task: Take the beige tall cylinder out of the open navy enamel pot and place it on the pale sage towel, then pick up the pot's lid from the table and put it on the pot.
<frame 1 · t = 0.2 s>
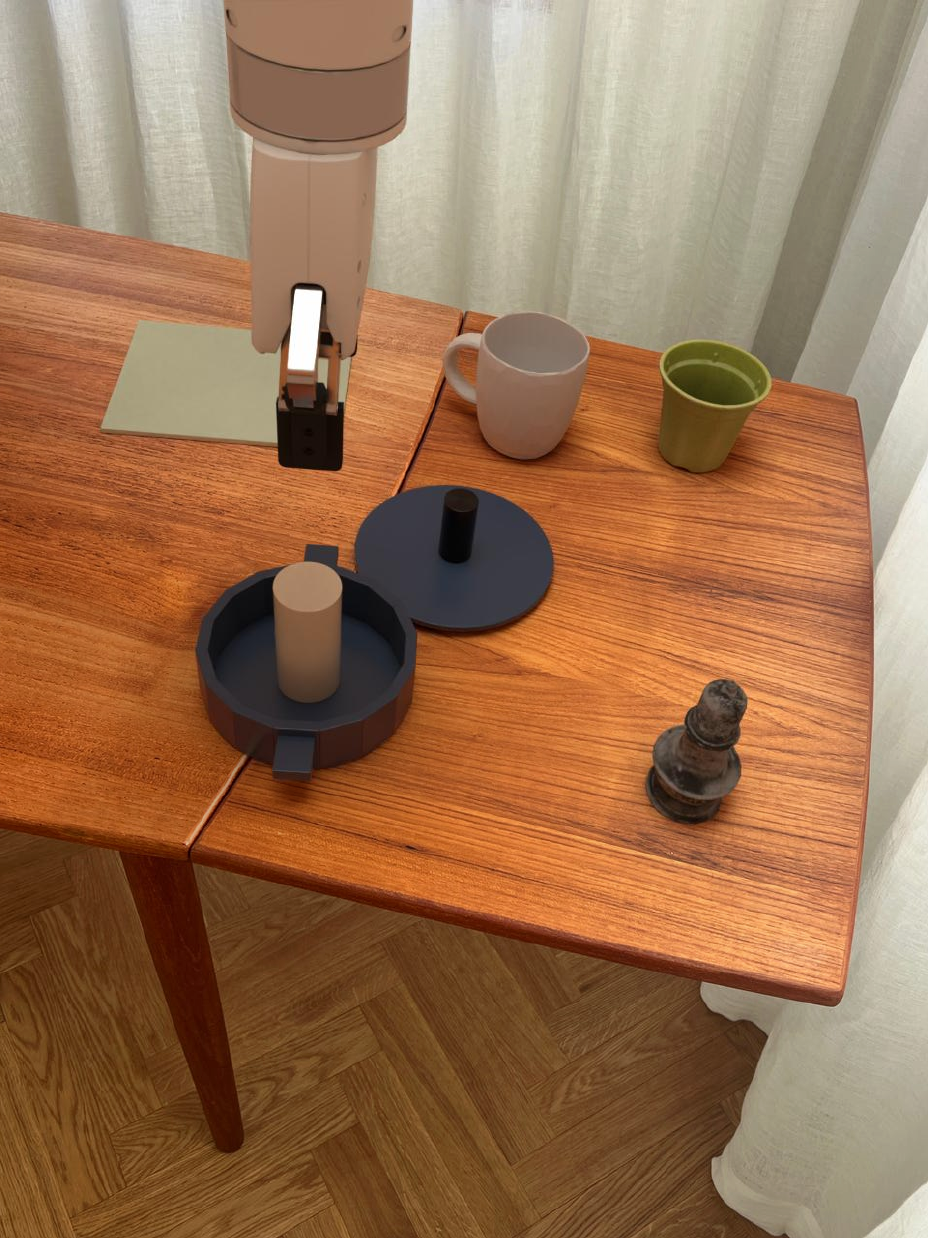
hand: (320, 405, 59), 25 cm above the table, tool pointing down, fingers open, 9 cm apart
dark grey chess piece: (683, 792, 75), on the table
plant pot: (689, 453, 100), on the table
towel: (234, 385, 99), on the table
mug: (501, 430, 99), on the table
beige tall cylinder: (308, 678, 78), resting on pot
pot lid: (454, 556, 87), point 1 cm above the table
pot: (308, 682, 78), on the table
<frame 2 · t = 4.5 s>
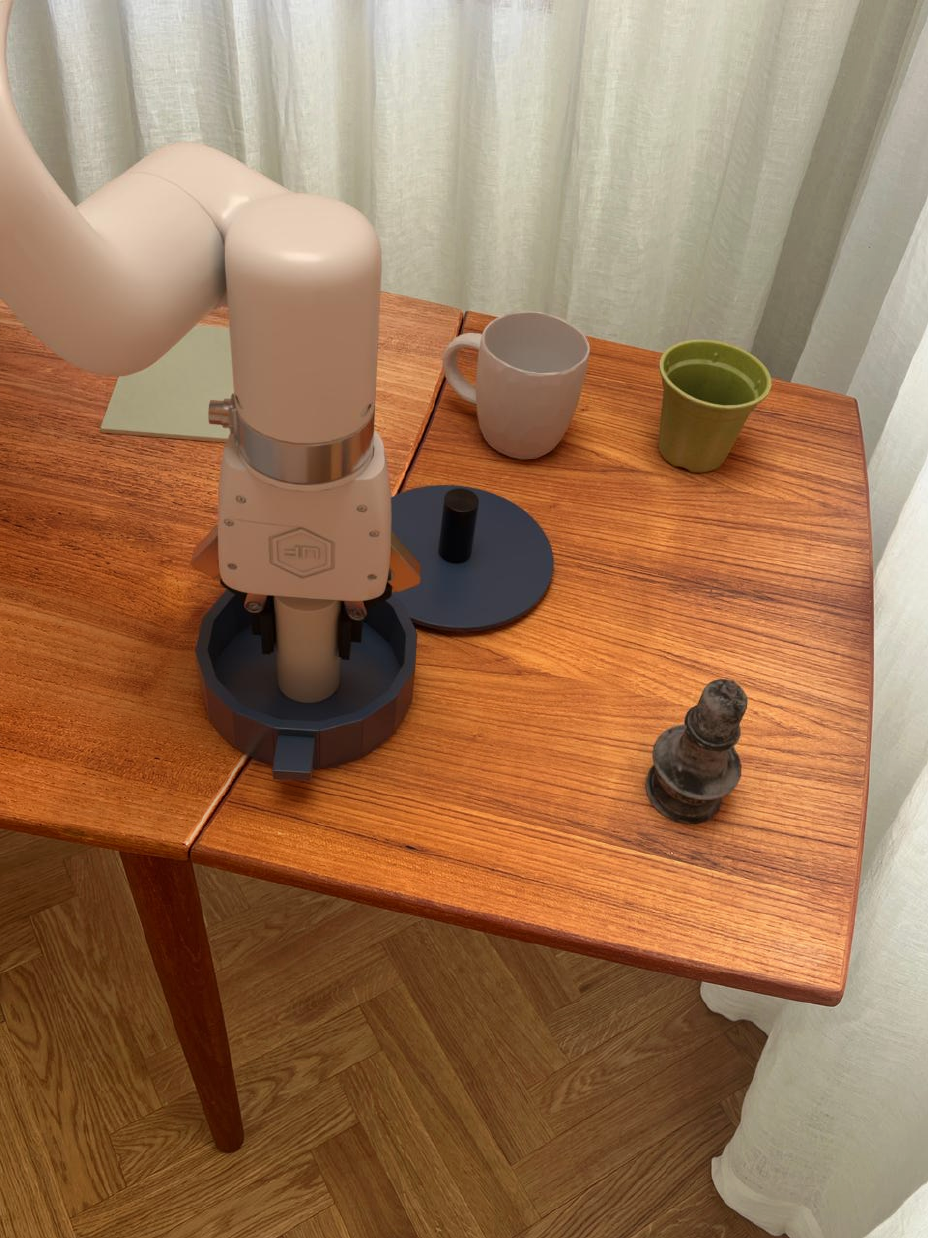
hand: (308, 639, 75), 5 cm above the table, tool pointing down, fingers closed on beige tall cylinder, 4 cm apart
beige tall cylinder: (308, 678, 78), point 1 cm above the table, touching gripper, pot
everything else where it was.
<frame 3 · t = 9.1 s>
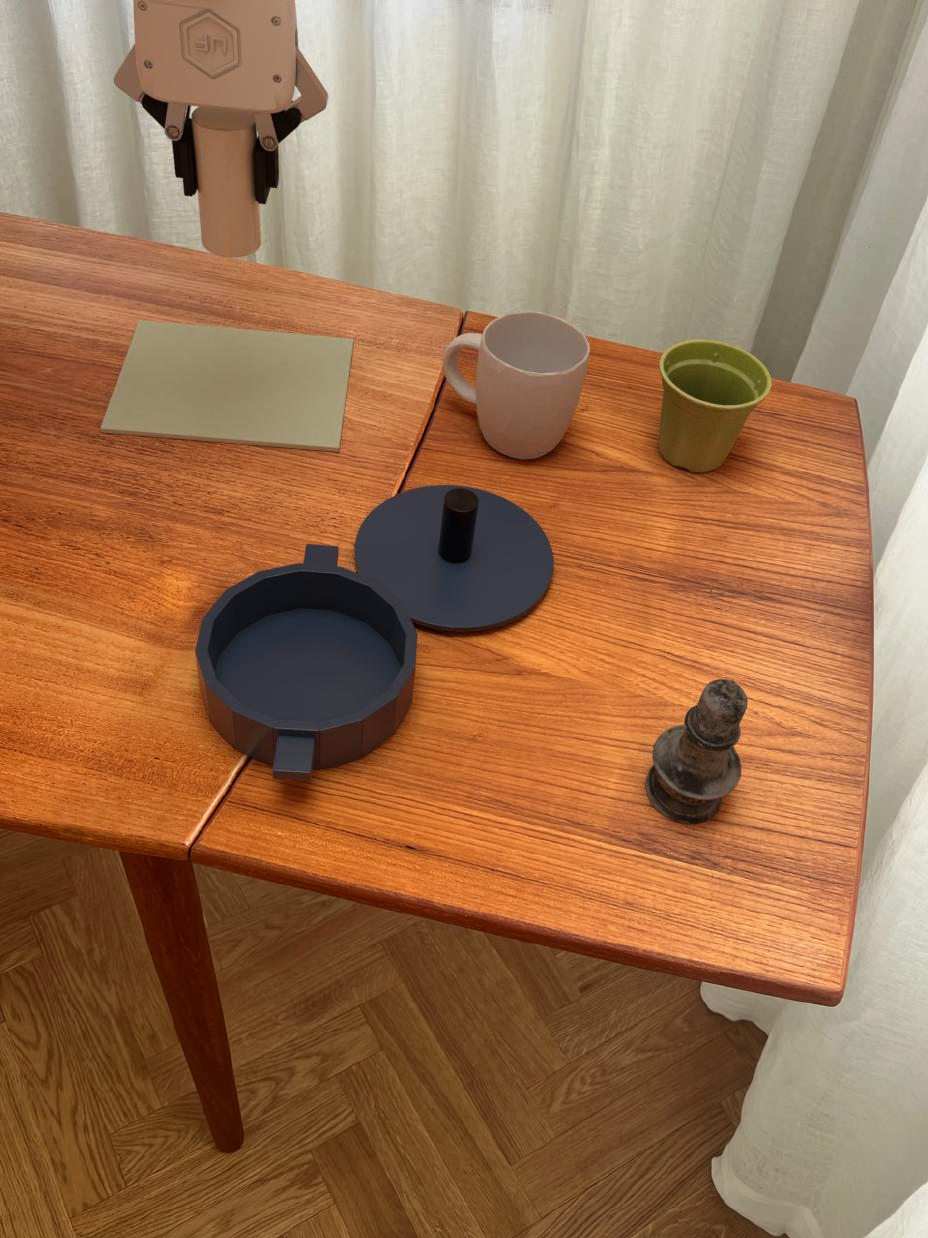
hand: (228, 188, 80), 21 cm above the table, tool pointing down, fingers closed on beige tall cylinder, 4 cm apart
beige tall cylinder: (231, 242, 84), point 17 cm above the table, touching gripper
everything else where it was.
when the fingers open (5 cm above the table, at t = 13.7 s): beige tall cylinder stays where it is, resting on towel.
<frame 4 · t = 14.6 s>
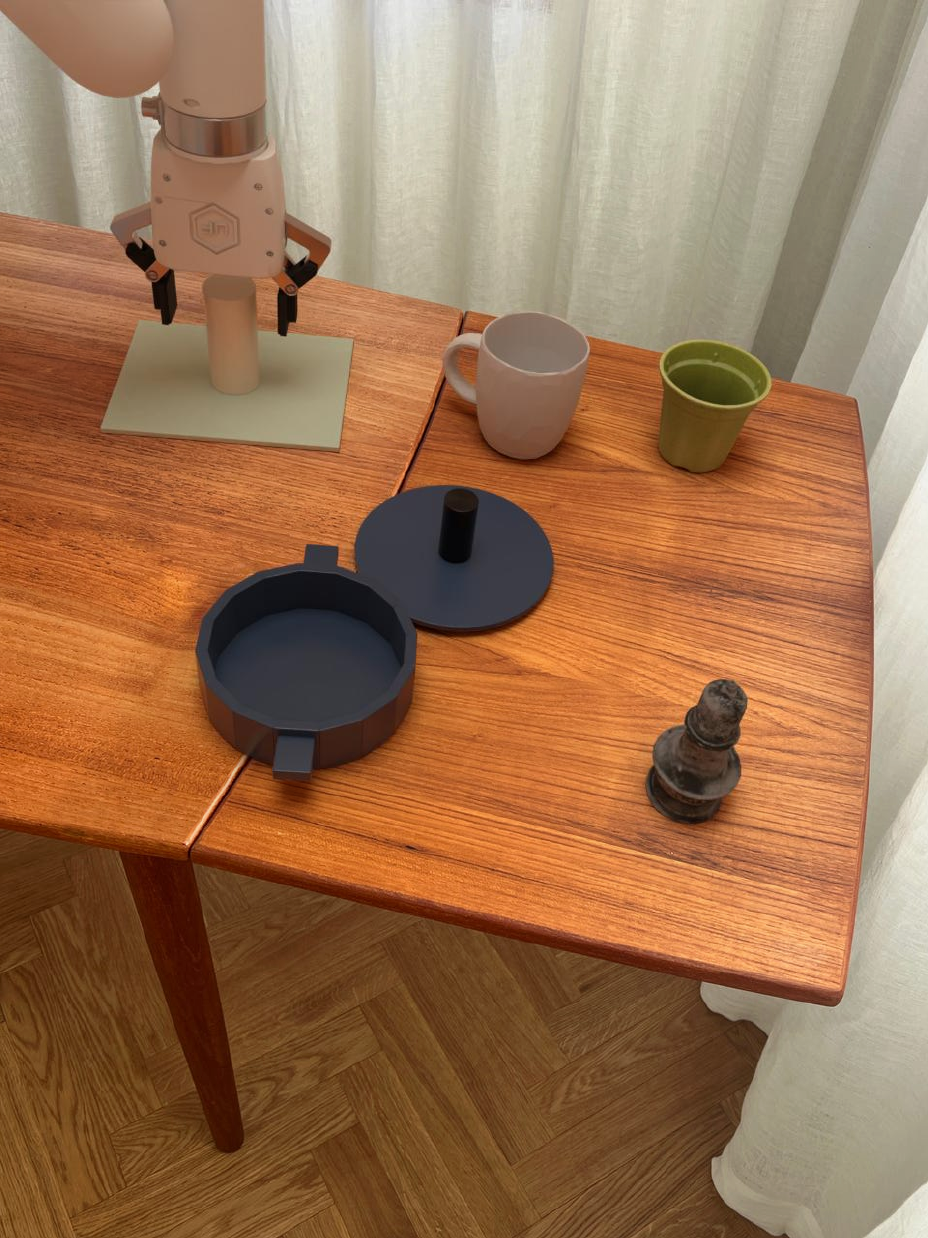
hand: (227, 321, 94), 7 cm above the table, tool pointing down, fingers open, 9 cm apart
beige tall cylinder: (235, 380, 99), resting on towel
everything else where it was.
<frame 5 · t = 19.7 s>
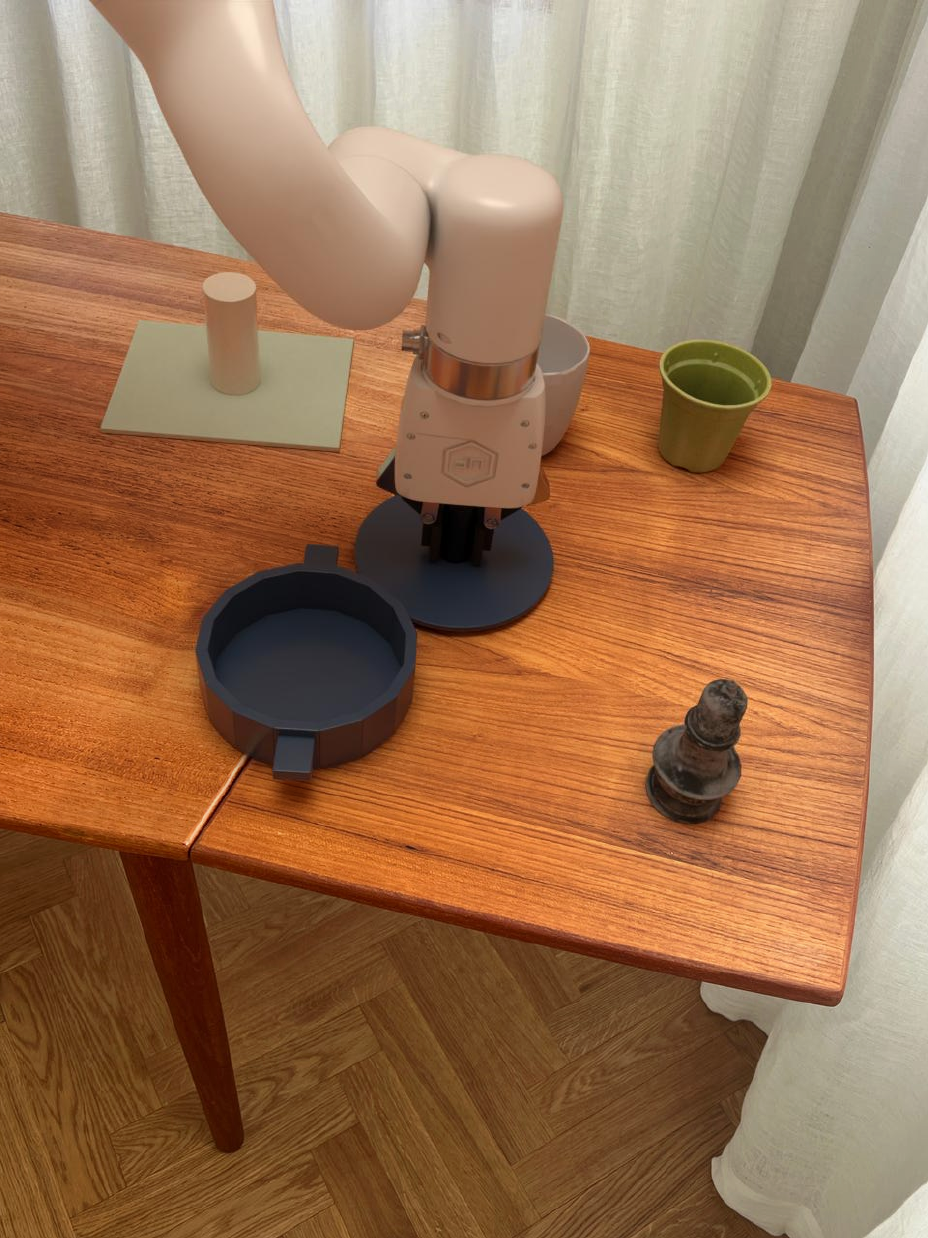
hand: (455, 550, 86), 1 cm above the table, tool pointing down, fingers closed on pot lid, 2 cm apart
pot lid: (454, 556, 87), point 1 cm above the table, touching gripper
everything else where it was.
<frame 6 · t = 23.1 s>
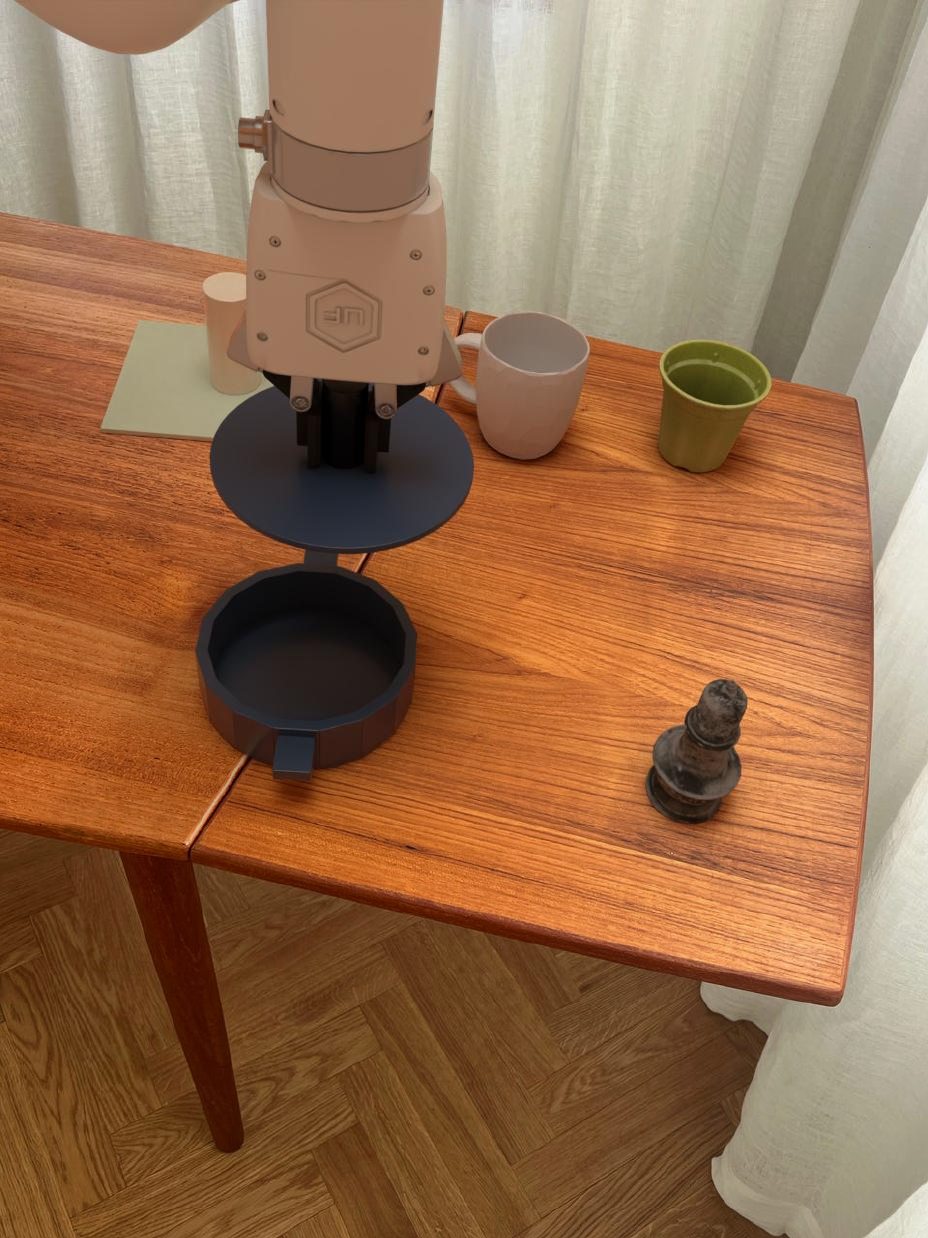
hand: (343, 452, 66), 19 cm above the table, tool pointing down, fingers closed on pot lid, 2 cm apart
pot lid: (343, 461, 66), point 18 cm above the table, touching gripper
everything else where it was.
when the fingers open (5 cm above the table, at t = 26.8 s): pot lid stays where it is, resting on pot.
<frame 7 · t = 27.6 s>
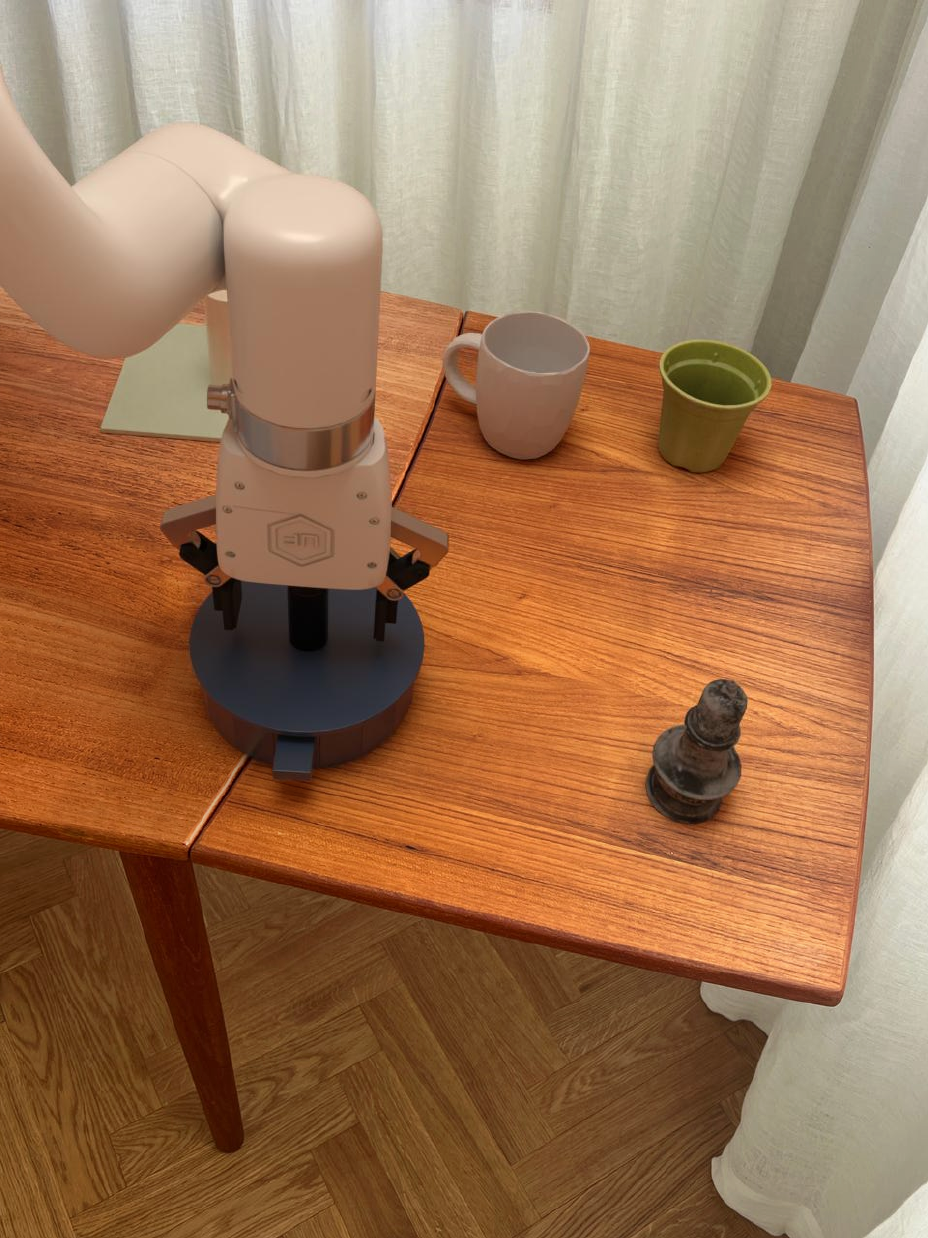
hand: (307, 619, 73), 7 cm above the table, tool pointing down, fingers open, 9 cm apart
pot lid: (308, 641, 75), point 4 cm above the table, touching pot
everything else where it was.
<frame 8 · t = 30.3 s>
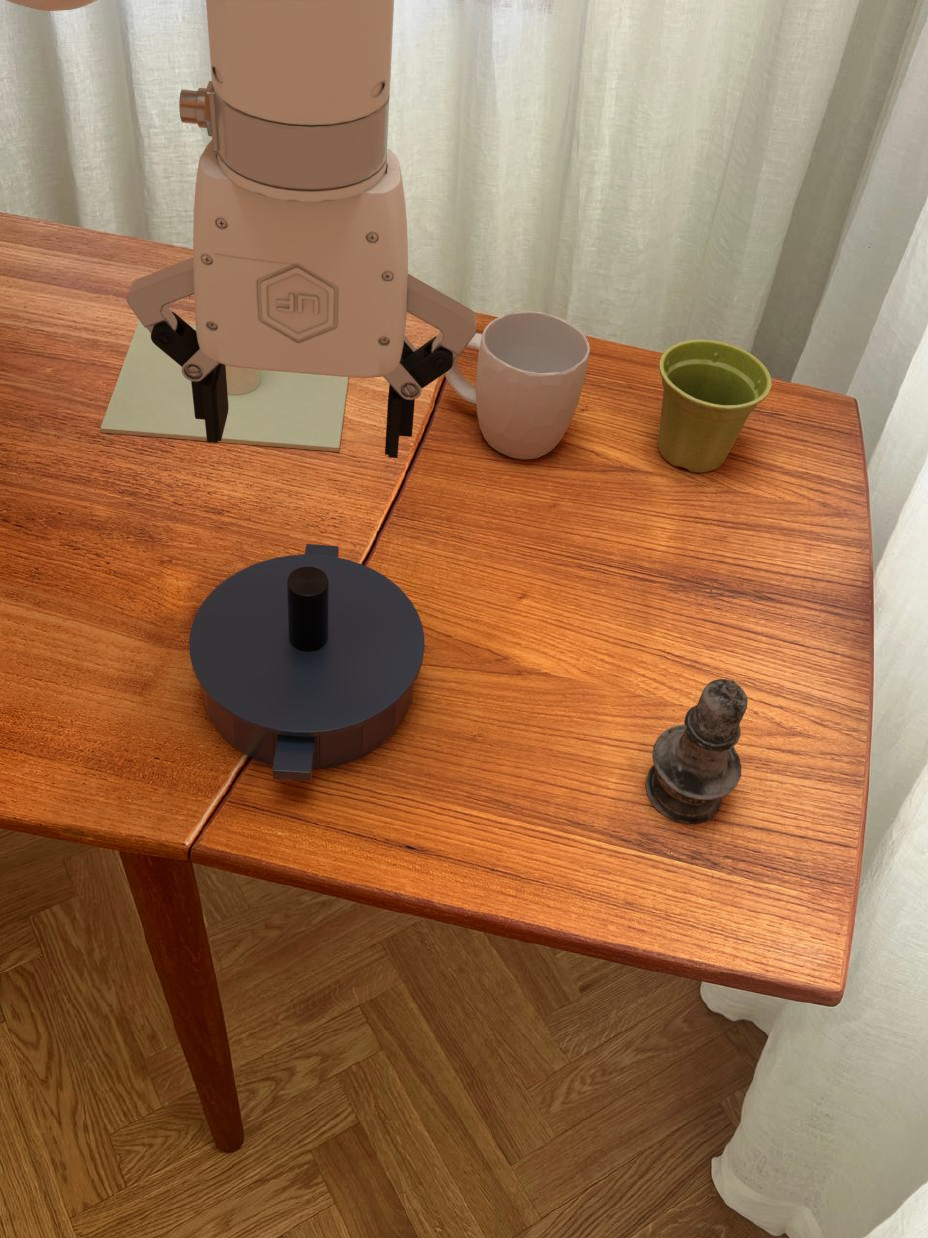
hand: (305, 434, 62), 22 cm above the table, tool pointing down, fingers open, 9 cm apart
nothing on the table moved.
at the end: beige tall cylinder inside the target area on the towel (0.1 cm from its centre), point 0.5 cm above the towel's base; pot lid 0.0 cm off-centre on the pot, point 4.5 cm above the pot's base; pot lid tilted 0° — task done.
